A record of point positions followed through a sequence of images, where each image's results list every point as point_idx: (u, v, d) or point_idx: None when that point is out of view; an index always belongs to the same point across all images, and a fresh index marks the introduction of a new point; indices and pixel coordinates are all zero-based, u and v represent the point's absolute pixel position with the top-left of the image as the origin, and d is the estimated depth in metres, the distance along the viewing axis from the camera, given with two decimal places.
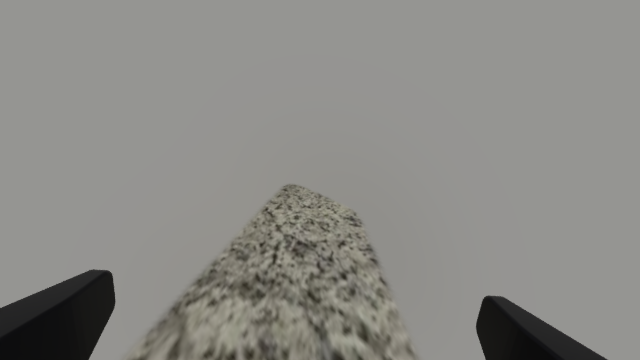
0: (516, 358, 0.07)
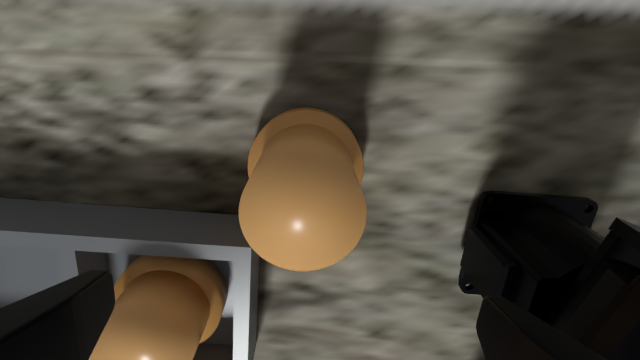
0: (516, 358, 0.07)
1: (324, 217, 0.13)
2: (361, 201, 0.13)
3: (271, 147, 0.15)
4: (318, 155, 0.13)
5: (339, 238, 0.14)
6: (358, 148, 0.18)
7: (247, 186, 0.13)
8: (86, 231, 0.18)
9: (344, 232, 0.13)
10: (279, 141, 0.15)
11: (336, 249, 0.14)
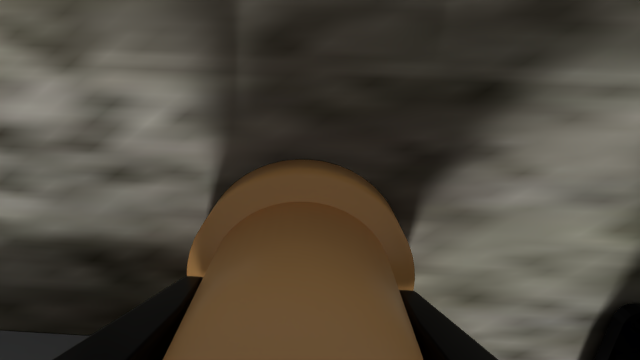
0: None
1: None
2: None
3: (213, 291, 0.06)
4: None
5: None
6: (406, 246, 0.09)
7: None
8: None
9: None
10: (234, 272, 0.06)
11: None
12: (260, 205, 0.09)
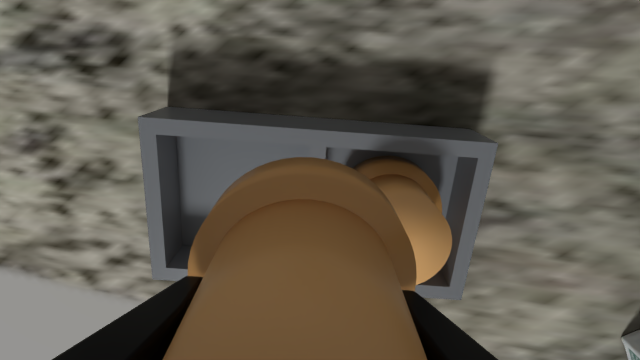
0: None
1: None
2: None
3: (214, 289, 0.06)
4: None
5: None
6: (408, 244, 0.09)
7: None
8: (335, 129, 0.18)
9: None
10: (236, 269, 0.06)
11: None
12: (261, 203, 0.09)
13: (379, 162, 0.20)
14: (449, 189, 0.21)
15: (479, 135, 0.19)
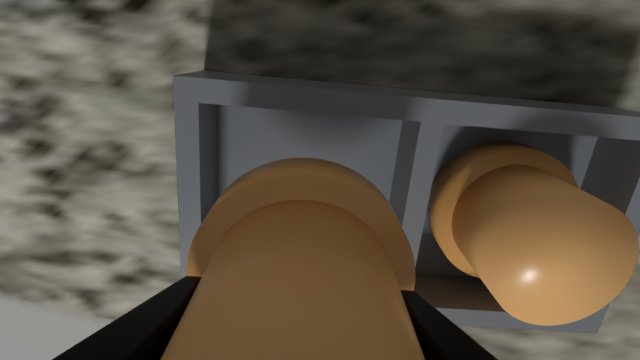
0: None
1: None
2: None
3: (212, 290, 0.06)
4: None
5: None
6: (406, 245, 0.09)
7: None
8: (454, 99, 0.13)
9: None
10: (233, 271, 0.06)
11: None
12: (260, 203, 0.09)
13: (500, 148, 0.14)
14: (578, 186, 0.16)
15: (637, 112, 0.14)
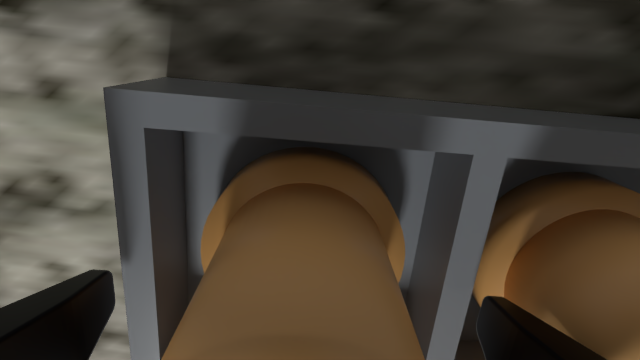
0: (516, 358, 0.07)
1: None
2: None
3: (228, 253, 0.07)
4: (331, 334, 0.05)
5: None
6: (397, 224, 0.10)
7: None
8: (522, 121, 0.09)
9: None
10: (246, 238, 0.07)
11: None
12: (267, 186, 0.10)
13: (576, 186, 0.10)
14: None
15: None
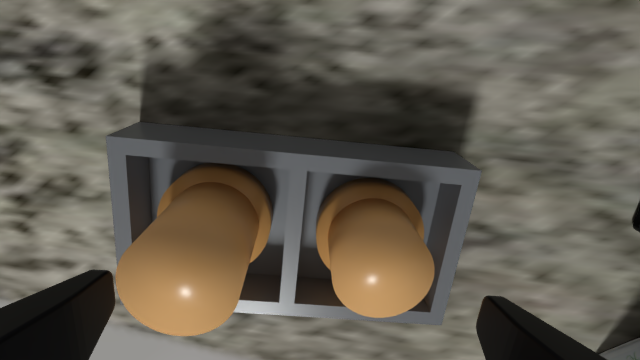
0: (516, 358, 0.07)
1: (200, 286, 0.14)
2: (233, 271, 0.14)
3: (162, 212, 0.16)
4: (187, 231, 0.13)
5: (216, 305, 0.14)
6: (263, 203, 0.19)
7: (121, 260, 0.13)
8: (316, 152, 0.17)
9: (221, 300, 0.14)
10: (171, 206, 0.16)
11: (215, 315, 0.14)
12: (191, 183, 0.18)
13: (361, 185, 0.19)
14: (431, 212, 0.21)
15: (462, 160, 0.19)
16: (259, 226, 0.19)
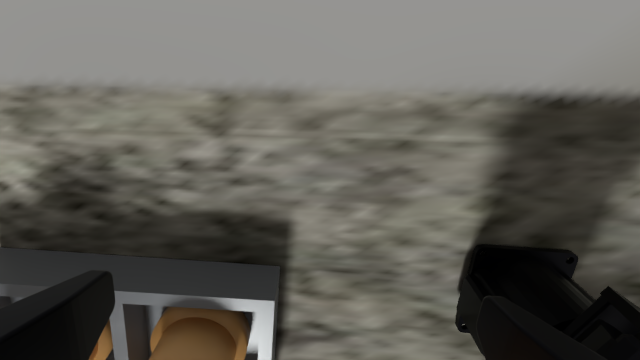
0: (516, 358, 0.07)
1: None
2: None
3: None
4: None
5: None
6: None
7: None
8: (132, 286, 0.20)
9: None
10: None
11: None
12: None
13: None
14: None
15: (273, 282, 0.22)
16: None
